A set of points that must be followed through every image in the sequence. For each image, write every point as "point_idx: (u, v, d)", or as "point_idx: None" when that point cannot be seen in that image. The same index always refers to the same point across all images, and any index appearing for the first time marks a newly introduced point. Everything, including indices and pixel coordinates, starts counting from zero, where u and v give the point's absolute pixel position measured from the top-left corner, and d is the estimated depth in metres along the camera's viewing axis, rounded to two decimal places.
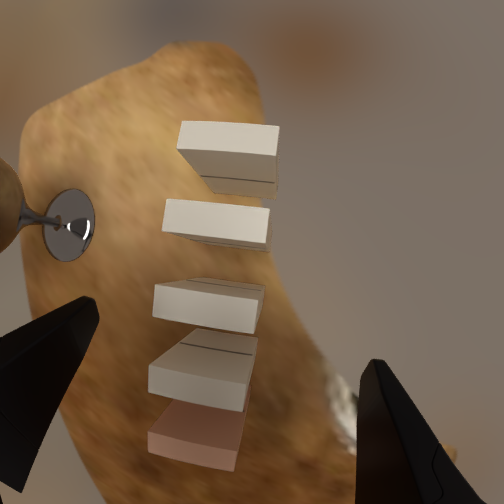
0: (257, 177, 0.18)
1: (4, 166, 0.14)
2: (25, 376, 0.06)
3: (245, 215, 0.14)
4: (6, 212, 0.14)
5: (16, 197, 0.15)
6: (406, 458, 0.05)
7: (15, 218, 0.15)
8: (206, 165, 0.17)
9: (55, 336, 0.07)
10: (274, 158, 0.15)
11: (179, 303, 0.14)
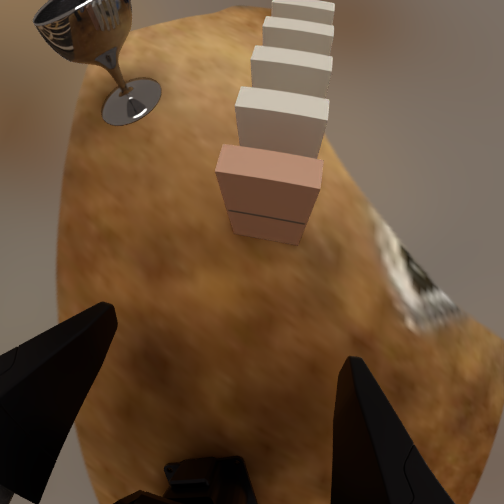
0: None
1: None
2: (44, 387, 0.06)
3: (319, 26, 0.17)
4: (125, 18, 0.17)
5: (131, 20, 0.18)
6: (376, 459, 0.05)
7: (124, 31, 0.18)
8: None
9: (75, 345, 0.07)
10: (332, 14, 0.18)
11: (274, 53, 0.16)
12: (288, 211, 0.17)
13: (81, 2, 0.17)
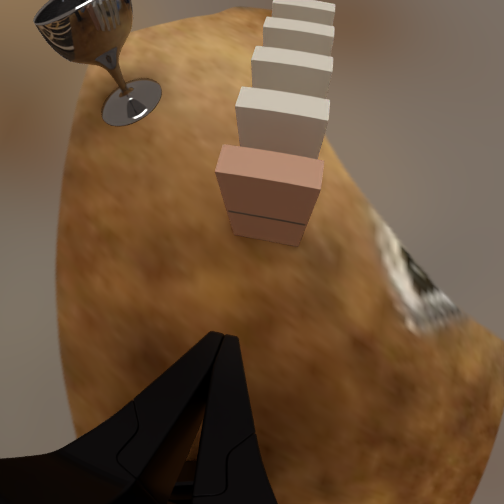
0: None
1: None
2: (174, 442, 0.05)
3: (319, 26, 0.17)
4: (125, 18, 0.17)
5: (131, 20, 0.18)
6: (200, 437, 0.05)
7: (125, 31, 0.18)
8: None
9: (200, 387, 0.07)
10: (333, 15, 0.18)
11: (275, 53, 0.16)
12: (288, 212, 0.17)
13: (82, 2, 0.17)
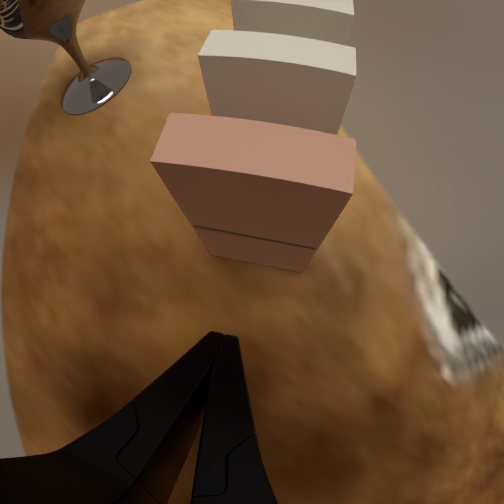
0: None
1: None
2: (173, 442, 0.05)
3: None
4: None
5: None
6: (200, 437, 0.05)
7: None
8: None
9: (200, 388, 0.07)
10: None
11: None
12: (288, 230, 0.10)
13: None
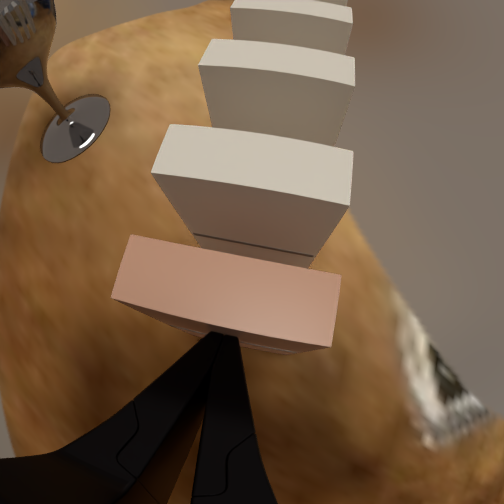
0: None
1: None
2: (173, 442, 0.05)
3: (327, 6, 0.09)
4: (36, 20, 0.09)
5: (50, 21, 0.10)
6: (200, 437, 0.05)
7: (39, 38, 0.10)
8: None
9: (200, 387, 0.07)
10: None
11: (244, 51, 0.09)
12: (266, 344, 0.09)
13: None
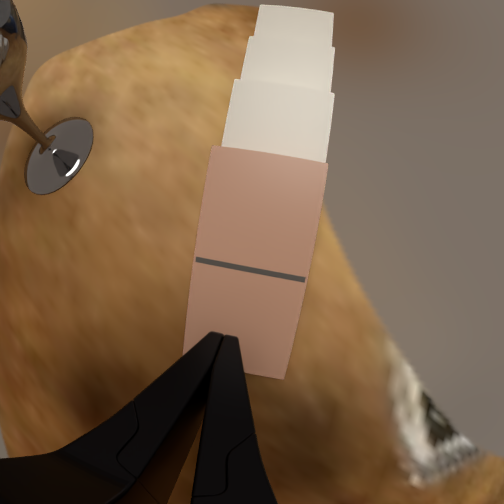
0: None
1: (20, 19, 0.09)
2: (174, 442, 0.05)
3: None
4: (1, 53, 0.08)
5: (18, 50, 0.09)
6: (200, 437, 0.05)
7: (6, 71, 0.09)
8: None
9: (200, 388, 0.07)
10: None
11: None
12: (285, 239, 0.13)
13: None
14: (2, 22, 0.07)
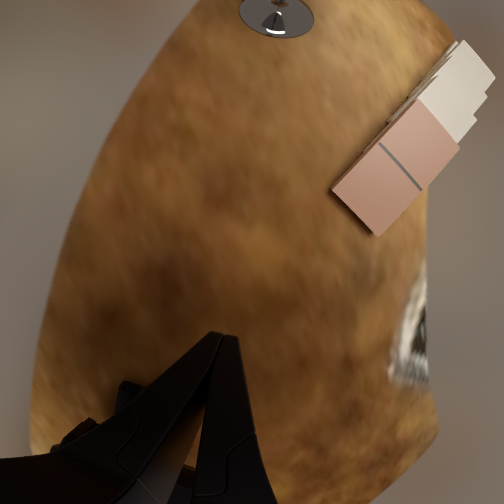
0: None
1: None
2: (173, 442, 0.05)
3: None
4: None
5: None
6: (201, 437, 0.05)
7: None
8: None
9: (200, 387, 0.07)
10: None
11: None
12: (424, 165, 0.19)
13: None
14: None
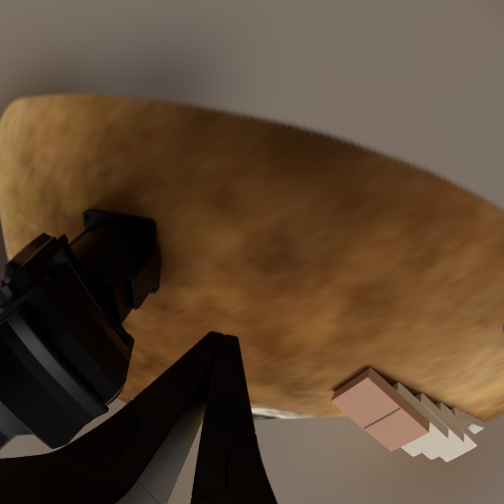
0: None
1: None
2: (173, 442, 0.05)
3: None
4: None
5: None
6: (200, 437, 0.05)
7: None
8: (472, 429, 0.28)
9: (200, 388, 0.07)
10: None
11: None
12: (381, 431, 0.25)
13: None
14: None
